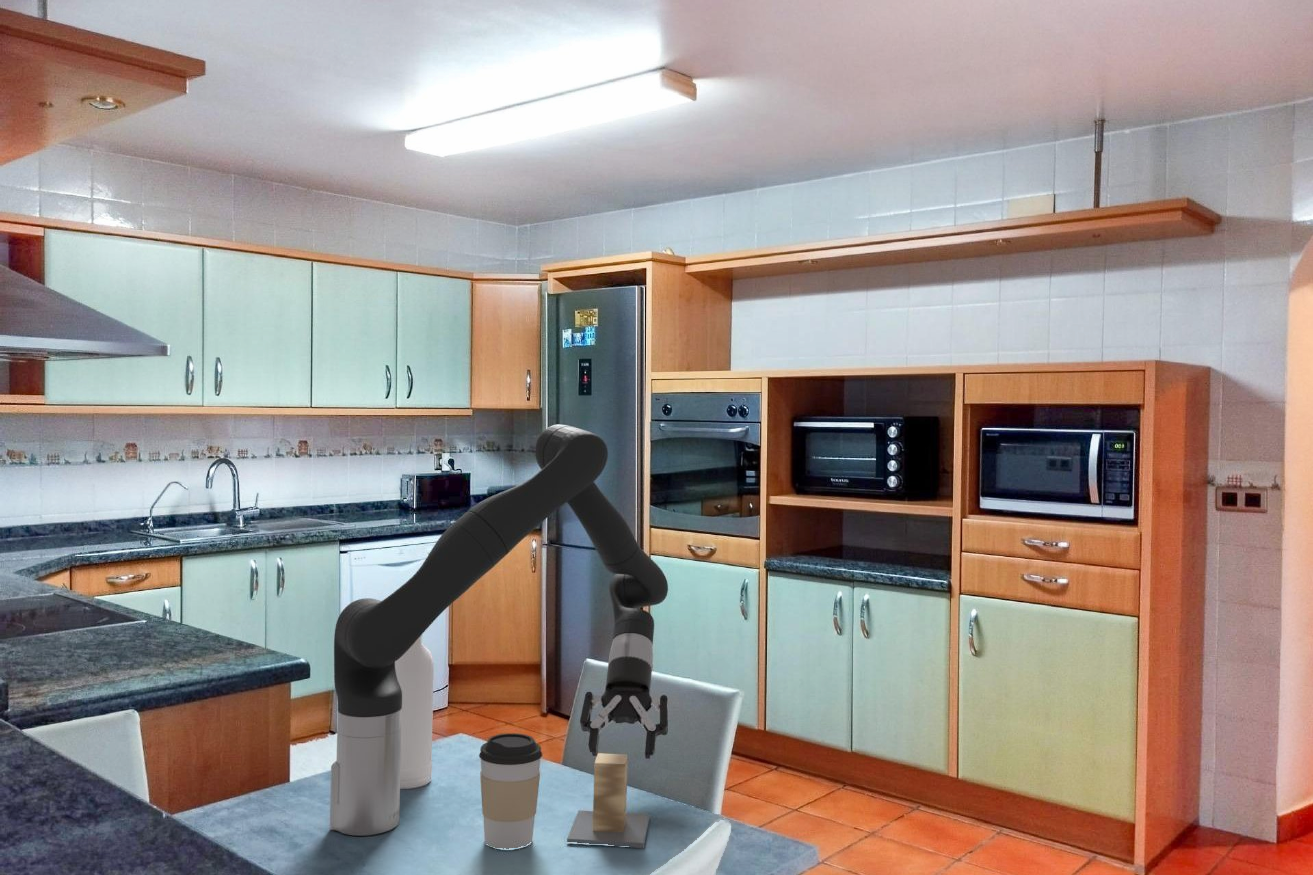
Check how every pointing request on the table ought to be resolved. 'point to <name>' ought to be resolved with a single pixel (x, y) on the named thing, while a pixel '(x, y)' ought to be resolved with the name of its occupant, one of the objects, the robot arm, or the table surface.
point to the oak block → (610, 792)
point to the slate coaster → (629, 837)
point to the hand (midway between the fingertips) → (621, 755)
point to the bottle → (416, 715)
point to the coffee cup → (509, 789)
